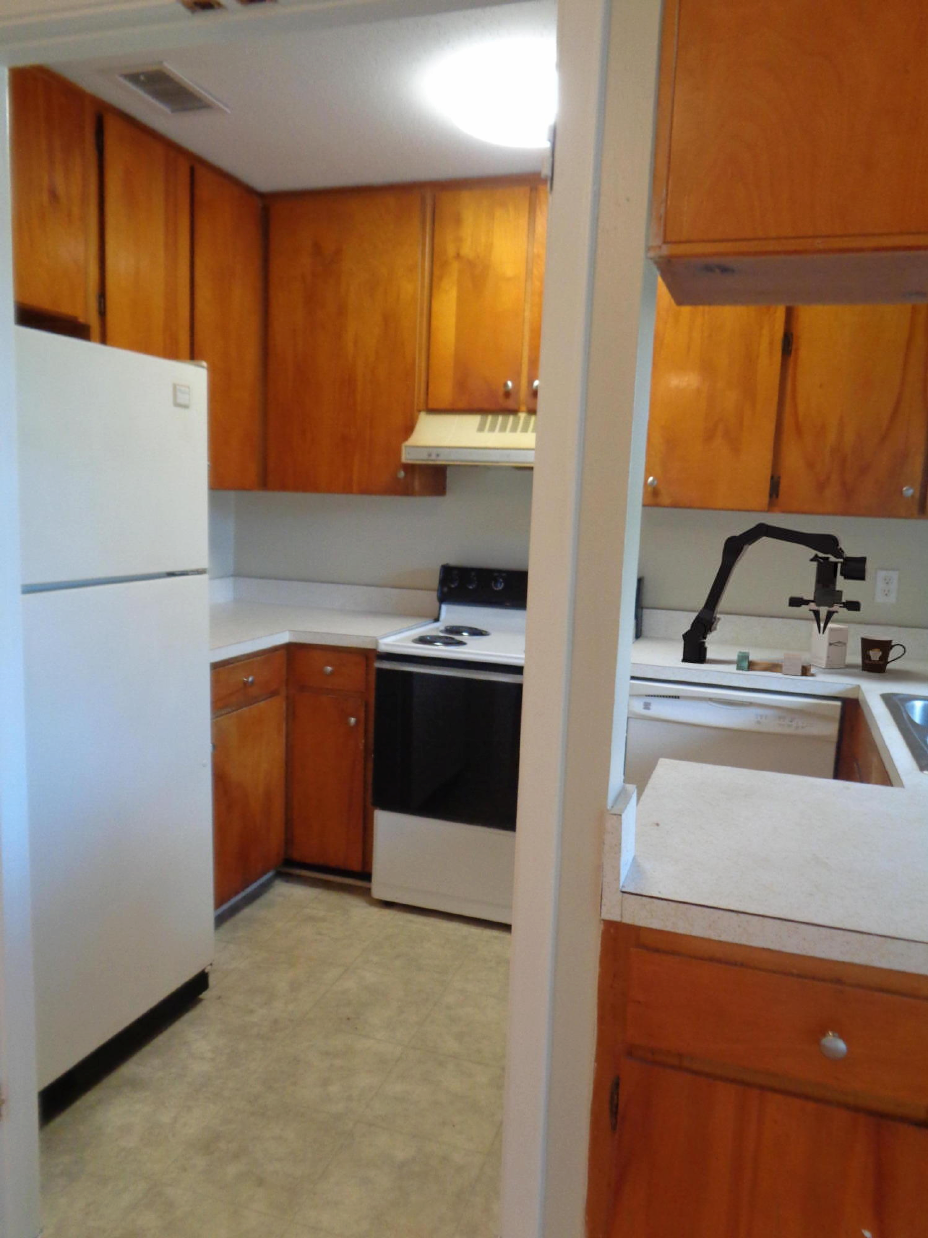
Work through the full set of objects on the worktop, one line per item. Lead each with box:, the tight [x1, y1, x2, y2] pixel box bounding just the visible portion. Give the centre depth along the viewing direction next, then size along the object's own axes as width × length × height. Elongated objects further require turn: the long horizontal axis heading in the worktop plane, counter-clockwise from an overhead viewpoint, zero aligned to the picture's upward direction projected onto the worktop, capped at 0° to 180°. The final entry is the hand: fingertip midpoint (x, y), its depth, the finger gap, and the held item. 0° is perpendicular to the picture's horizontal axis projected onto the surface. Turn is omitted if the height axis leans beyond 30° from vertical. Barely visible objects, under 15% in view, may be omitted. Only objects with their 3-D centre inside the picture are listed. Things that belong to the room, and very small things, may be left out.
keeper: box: [781, 652, 803, 676], centre depth 256 cm, size 5×7×5 cm
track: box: [735, 650, 812, 677], centre depth 258 cm, size 20×7×4 cm, turn 69°
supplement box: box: [809, 623, 850, 669], centre depth 270 cm, size 7×7×13 cm
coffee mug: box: [860, 635, 907, 674], centre depth 263 cm, size 12×9×10 cm
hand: (821, 633), depth 252 cm, fingers closed
